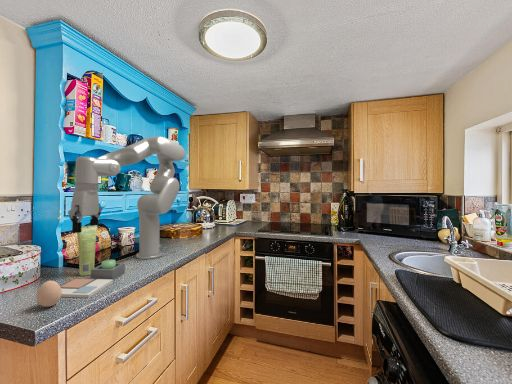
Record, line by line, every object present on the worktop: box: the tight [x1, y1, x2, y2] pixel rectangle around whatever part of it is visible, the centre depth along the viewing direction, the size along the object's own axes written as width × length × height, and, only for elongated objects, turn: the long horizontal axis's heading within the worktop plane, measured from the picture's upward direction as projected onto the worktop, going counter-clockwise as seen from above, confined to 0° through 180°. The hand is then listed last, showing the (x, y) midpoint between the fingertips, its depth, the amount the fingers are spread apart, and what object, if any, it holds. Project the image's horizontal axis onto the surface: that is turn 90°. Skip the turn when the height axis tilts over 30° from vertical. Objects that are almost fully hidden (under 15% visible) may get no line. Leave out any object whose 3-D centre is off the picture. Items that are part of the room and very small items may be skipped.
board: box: [59, 277, 114, 299], centre depth 87 cm, size 13×14×1 cm
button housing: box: [90, 262, 126, 281], centre depth 99 cm, size 8×8×4 cm
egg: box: [36, 280, 62, 308], centre depth 75 cm, size 6×6×8 cm
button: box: [101, 259, 117, 269], centre depth 99 cm, size 5×5×4 cm
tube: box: [77, 225, 98, 277], centre depth 101 cm, size 6×5×20 cm
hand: (85, 230), depth 100 cm, fingers open, 9 cm apart
